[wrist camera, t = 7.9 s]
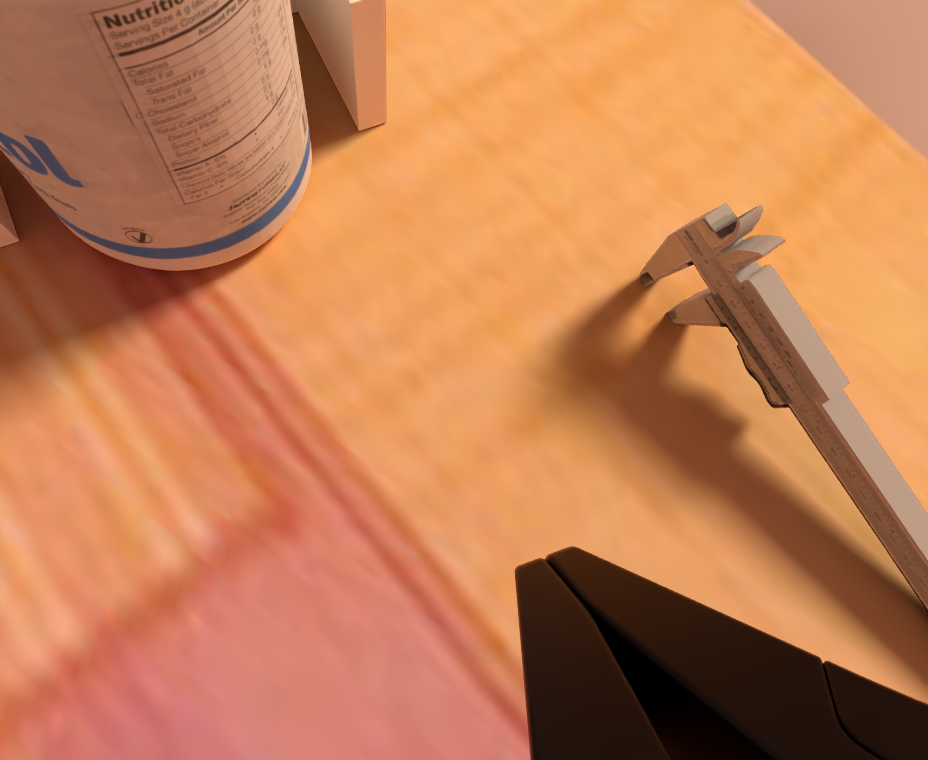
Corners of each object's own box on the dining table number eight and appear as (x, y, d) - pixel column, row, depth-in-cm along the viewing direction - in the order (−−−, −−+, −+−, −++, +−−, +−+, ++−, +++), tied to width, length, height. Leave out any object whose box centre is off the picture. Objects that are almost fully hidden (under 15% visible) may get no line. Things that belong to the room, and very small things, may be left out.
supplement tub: (-4, 184, 24) (-538, -376, 10) (178, 29, 27) (-45, -567, 13) (203, 332, 23) (-75, -63, 9) (368, 155, 26) (343, -345, 12)
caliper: (632, 281, 26) (704, 185, 20) (652, 267, 26) (730, 169, 20) (1030, 755, 22) (1273, 814, 16) (1049, 732, 22) (1295, 782, 16)
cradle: (386, 121, 27) (385, -7, 21) (-17, 252, 23) (-148, 141, 18) (313, -16, 29) (294, -168, 23) (-70, 85, 25) (-204, -64, 19)
